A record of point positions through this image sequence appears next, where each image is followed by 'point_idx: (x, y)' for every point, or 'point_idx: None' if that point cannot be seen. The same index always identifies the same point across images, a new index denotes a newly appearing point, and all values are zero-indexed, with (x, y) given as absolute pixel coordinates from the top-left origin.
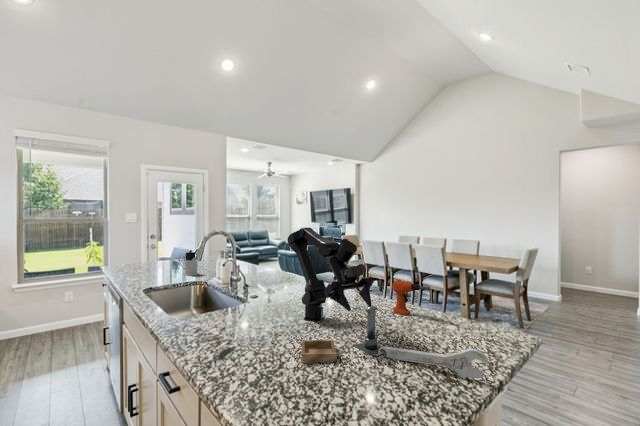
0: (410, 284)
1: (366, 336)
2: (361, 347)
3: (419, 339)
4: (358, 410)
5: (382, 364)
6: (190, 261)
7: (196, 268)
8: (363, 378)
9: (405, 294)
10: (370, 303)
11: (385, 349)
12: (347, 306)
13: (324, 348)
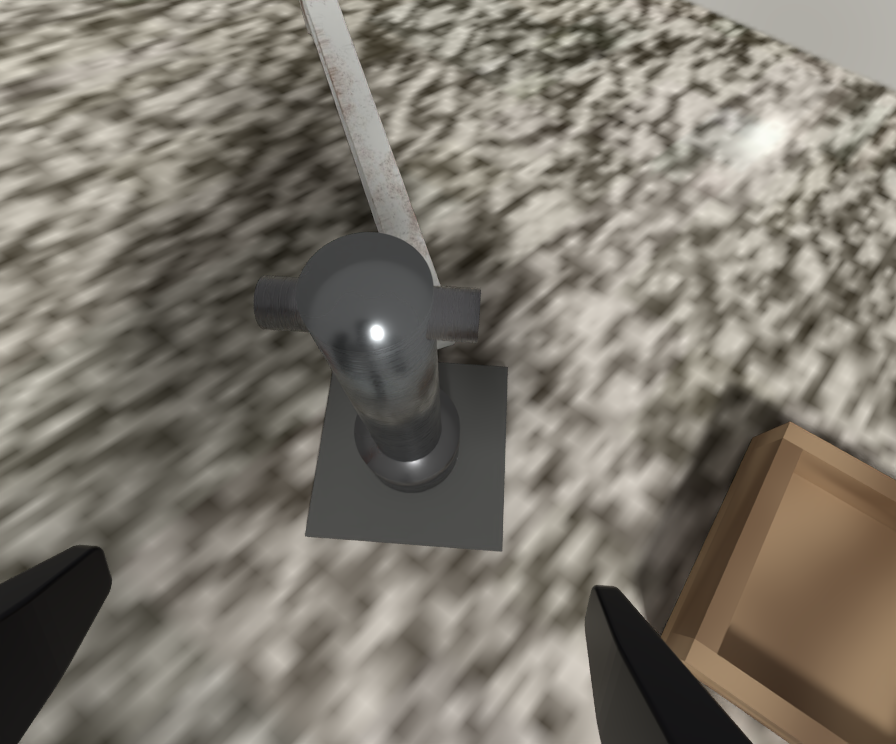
0: None
1: (411, 476)
2: (469, 488)
3: (11, 348)
4: (856, 114)
5: (516, 271)
6: None
7: None
8: (705, 237)
9: None
10: (70, 563)
11: (437, 283)
12: (660, 652)
13: (751, 657)
